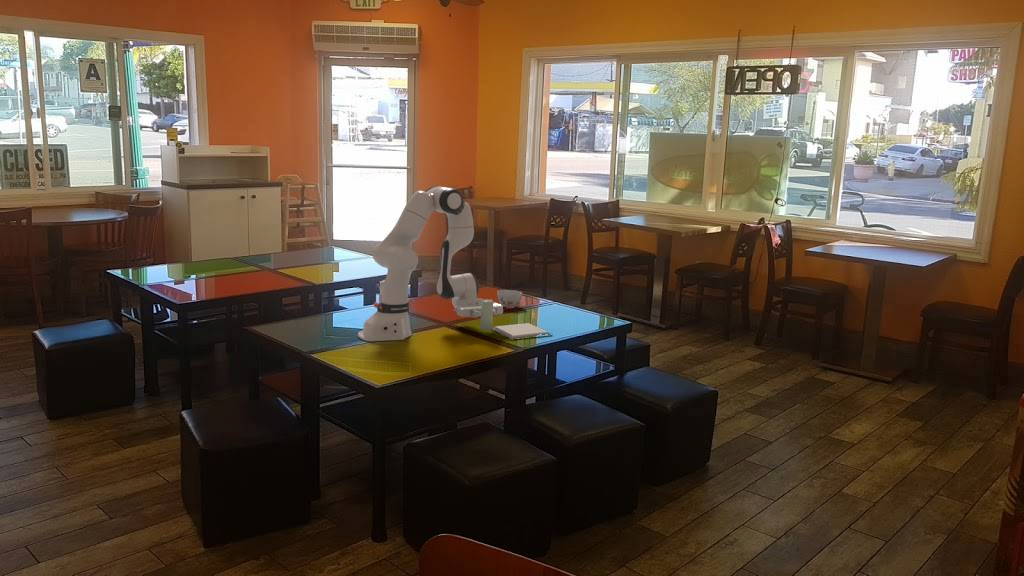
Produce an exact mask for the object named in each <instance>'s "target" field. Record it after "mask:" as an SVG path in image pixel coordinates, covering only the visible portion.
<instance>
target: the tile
mask: <svg viewBox="0 0 1024 576" xmlns="http://www.w3.org/2000/svg"><path fill="white" fill-rule="evenodd" d="M492 330H494V331H496V332H498V333H500V334H502V335H504V336H506V337H508V338H510V339H516V338H524V337H533V336H537V335H539V334H542V335H545V334H548V335H550V334H552V333H551V332H549V331H547V330H545V329H542V328H540V327H538V326H536V325H534V324H531V323H518V324H517V323H516V324H507V325H497V326H492ZM492 330H491V331H492ZM494 331H493V332H494ZM496 332H495V333H496ZM498 333H497V334H498ZM500 334H499V335H500ZM502 335H501V336H502ZM504 336H503V337H504ZM506 337H505V338H506ZM508 338H507V339H508ZM510 339H509V340H510Z"/></svg>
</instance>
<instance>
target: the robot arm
mask: <svg viewBox="0 0 1024 576" xmlns="http://www.w3.org/2000/svg"><path fill="white" fill-rule="evenodd" d="M433 212H438V213H441V214H446V217H447V224H448V225H447V228H448V232H447V235H446V238H445V239H444V240H443V242H442V243H441V249H440V255H439V256H440V257H439V267H438V276H437V281H436V292H437V295H438V296H439V297H440V298H442V299H443V300H445V301H446V300H451V303H452V305H453V307H454V308H453V311H454V312H456V315H458V316H459V317H462V318H467V317H468V318H473V319H477V318H479V317H480V318H481V316H483V315H482V314H483V313H482V312H481V303H482V300H492V301H493V299H489V298H481V297H480V298H479V297H478V295H479V293H480V283H479V281H478V279H477V278H476V276H475V275H474V274H473V273H471V272H467V273H461V274H460V273H459V274H455V275H451V265H452V259H453V256H454V255H455V254H456V253H457V252H458V251H460V250H462V249H464V248H466V247H467V246H468V245H469V244H470V243H471V242H472V241H473V239H474V235H475V230H474V229H475V228H474V217H473V213H472V209H471V205H470V204H469V203H468V202H466V201H465V200H464V198H463V195H462V194H461V192H460V191H459V190H458V189H455V188H453V187H447V186H432V187H429V188H427V189H426V190H425V191H424V190H417V191H415V192H414V193H413V194H412V195H411V197H410V198H409V199H408V201H407V202H406V204H405V206H404V208H403V210H402V212H401V214H400V215H399V217H398V220H397V222H396V224H395V225H394V227H393V228H392V230H391V231H390V232H389V233H388V234H387V235H386V237H385V238H384V239H383V240H382V241H381V242H379V243H377V244H376V245H375V246H374V248H373V249H372V259H373V260H374V262H375V263H377V264H378V265H379V266H381V268H382V267H383V268H386V269H387V273H386V277H385V279H384V280H385V281H384V280H383V281H384V282H383V283H382V302H381V303H379V302H374V303H373V307H374V308H376V312H374V313H373V314H372V315H371V316H369V317H367V319H366V320H365V321H364V324H363V328H362V330H361V331H358V333H357V337H358V338H359V339H361V340H363V341H366V342H381V341H383V342H384V341H401V340H406V338H408V337H409V338H410V337H411V336H412V335H413V333H412V330H411V326H410V320H409V319H410V318H409V315H410V302H409V284H410V283H409V282H410V279H411V276H412V273H413V271H414V270H415V269H416V267H417V266H418V263H419V257H418V256H419V255H418V254H417V252H416V251H415V250H414V249H412V248H410V245H412V243H414V242H415V241H418V239H420V237H421V234H422V233H423V231H424V229H425V226H426V225H427V222H428V220H429V219H430V216H431V214H433ZM503 312H504V308H503V306H502V305H501V304H500V303H498V302H495V301H493V317H494V316H497V315H502V314H503Z"/></svg>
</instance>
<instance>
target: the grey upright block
mask: <svg viewBox="0 0 1024 576" xmlns="http://www.w3.org/2000/svg"><path fill="white" fill-rule="evenodd" d="M492 300H493V299H491V300H482V303H481V312H482V313H483V314H482V315H483V316H481V317H480V327H479V328H480V330H482V331H492V328H493V321H494V320H493V319H494V318H493V317H494V316H493V302H494V301H492Z"/></svg>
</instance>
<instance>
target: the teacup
mask: <svg viewBox="0 0 1024 576" xmlns="http://www.w3.org/2000/svg"><path fill="white" fill-rule="evenodd" d="M496 292H497V293H496V294H497V295H496V296H497V300H498V302H499V304H500V305H502V306H503V307H515V308H516V307H517V306H518V305H519V304H520V302H521V299H522V296H523V292H522V291H518V290H513V289H500V290H497V291H496Z"/></svg>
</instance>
